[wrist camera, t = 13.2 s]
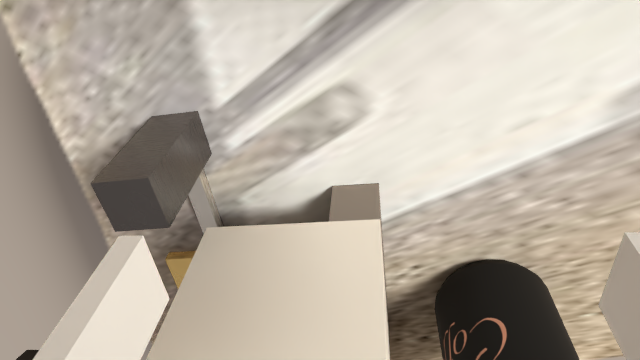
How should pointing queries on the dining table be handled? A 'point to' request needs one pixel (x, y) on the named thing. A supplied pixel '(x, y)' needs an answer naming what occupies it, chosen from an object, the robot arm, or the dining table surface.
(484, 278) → the coffee jar
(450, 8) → the dining table surface
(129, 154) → the grey post with bar
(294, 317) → the toe-kick cabinet
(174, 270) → the brass block
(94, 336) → the robot arm
